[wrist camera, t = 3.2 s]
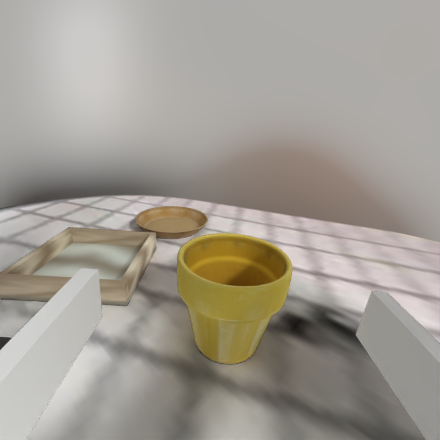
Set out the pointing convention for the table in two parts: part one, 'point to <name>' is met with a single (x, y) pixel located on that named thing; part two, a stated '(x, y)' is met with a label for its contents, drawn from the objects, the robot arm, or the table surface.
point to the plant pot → (231, 291)
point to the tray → (81, 264)
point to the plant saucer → (171, 221)
